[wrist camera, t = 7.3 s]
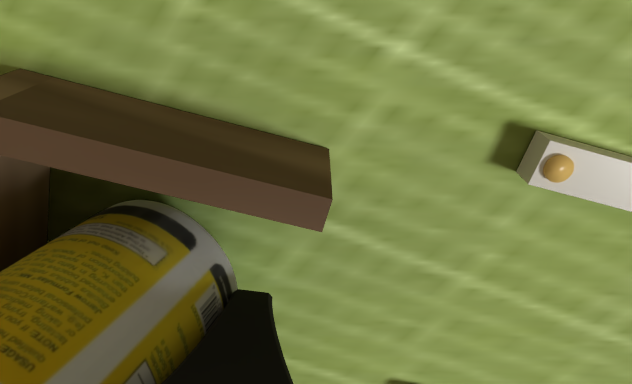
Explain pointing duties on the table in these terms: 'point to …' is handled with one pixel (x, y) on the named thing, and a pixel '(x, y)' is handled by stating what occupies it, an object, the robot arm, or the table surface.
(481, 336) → the table surface
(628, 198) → the dock
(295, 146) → the holder
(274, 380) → the robot arm
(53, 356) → the supplement bottle
